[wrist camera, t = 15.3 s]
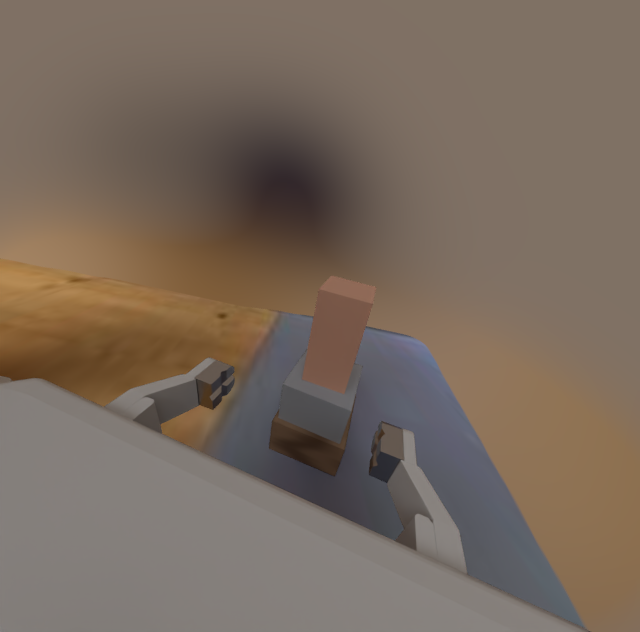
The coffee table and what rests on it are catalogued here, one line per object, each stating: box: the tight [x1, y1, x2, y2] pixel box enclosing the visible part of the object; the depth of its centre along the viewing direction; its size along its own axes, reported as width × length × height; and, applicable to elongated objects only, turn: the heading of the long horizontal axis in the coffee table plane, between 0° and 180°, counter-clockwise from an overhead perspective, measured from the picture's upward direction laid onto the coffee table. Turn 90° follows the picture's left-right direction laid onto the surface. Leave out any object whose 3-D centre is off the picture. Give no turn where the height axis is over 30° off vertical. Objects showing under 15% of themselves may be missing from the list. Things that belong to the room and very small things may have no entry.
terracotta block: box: [302, 276, 376, 394], centre depth 22 cm, size 4×4×10 cm
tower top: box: [278, 348, 363, 444], centre depth 26 cm, size 7×7×5 cm
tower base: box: [269, 395, 356, 476], centre depth 28 cm, size 8×8×5 cm
